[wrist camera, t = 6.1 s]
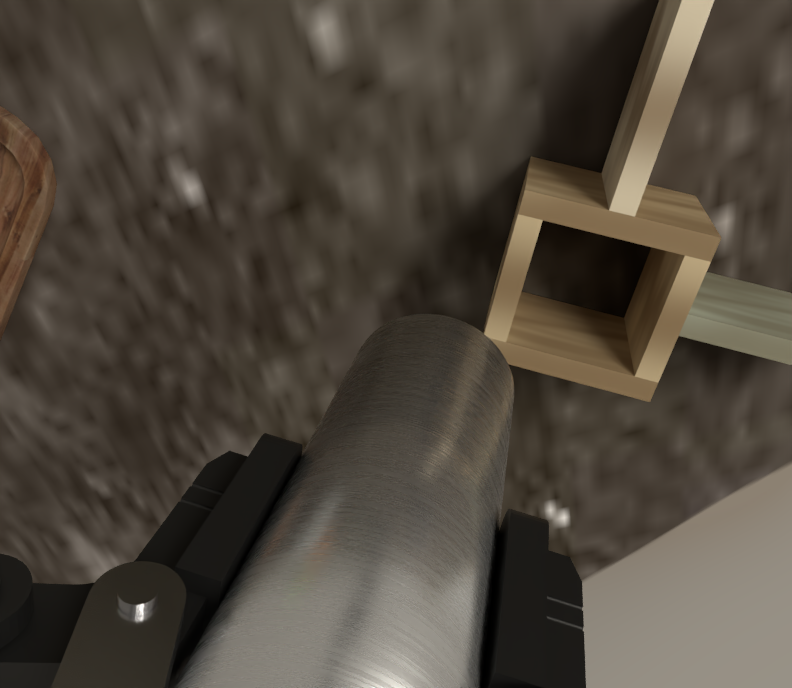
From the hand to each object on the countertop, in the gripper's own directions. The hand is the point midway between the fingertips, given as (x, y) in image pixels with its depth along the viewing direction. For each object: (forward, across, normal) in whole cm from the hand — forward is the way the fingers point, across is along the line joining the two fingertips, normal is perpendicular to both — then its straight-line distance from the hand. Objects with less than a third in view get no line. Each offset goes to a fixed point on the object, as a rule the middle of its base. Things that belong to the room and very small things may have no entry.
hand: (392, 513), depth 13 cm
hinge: (+24, -9, -2) cm, 25 cm away
